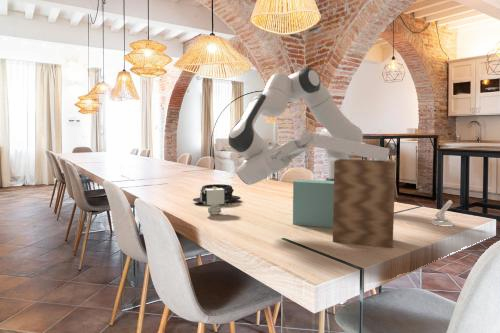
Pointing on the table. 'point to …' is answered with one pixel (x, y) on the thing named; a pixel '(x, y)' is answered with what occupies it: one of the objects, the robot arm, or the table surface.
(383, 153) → the rail
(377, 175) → the stand
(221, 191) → the pneumatic valve
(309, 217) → the mint green rectangular block
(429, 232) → the table surface
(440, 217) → the hook
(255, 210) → the table surface
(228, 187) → the casserole
